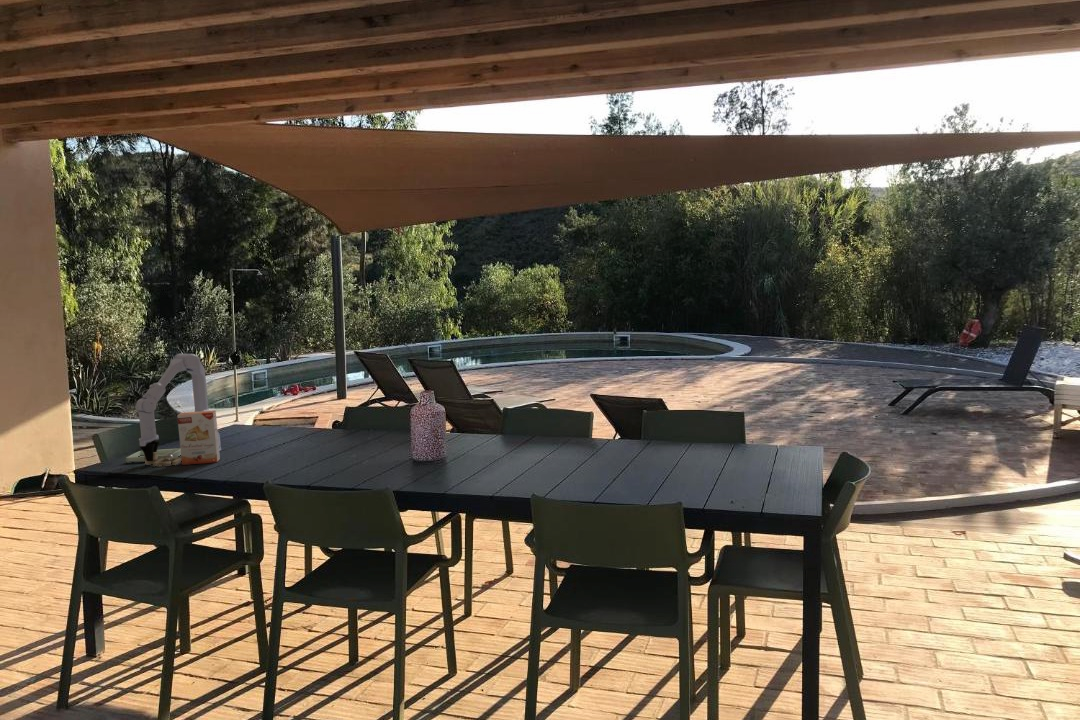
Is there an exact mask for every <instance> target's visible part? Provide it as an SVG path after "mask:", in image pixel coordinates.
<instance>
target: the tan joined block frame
mask: <svg viewBox="0 0 1080 720" xmlns="http://www.w3.org/2000/svg"><path fill="white" fill-rule="evenodd" d="M144 460H145V463H144V465H145V464H153V465H152V467H153V466H157V465H159V466H157V467H163V466H162V465H170V466H172V465H175V466H177V465H178V463H179V464H180V463H182V462H181V461H182V459H181V456H180V457H177V458H173V461H172V464H171V461H169V462H168V460H167V458H166V459H165V458H161V459H159V460H158V454H157V452H153V461H147V460H146V457H145V454H144ZM165 460H166V461H165ZM164 461H165V462H164ZM176 464H177V465H176Z"/></svg>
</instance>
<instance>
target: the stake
mask: <svg viewBox="0 0 1080 720" xmlns="http://www.w3.org/2000/svg"><path fill="white" fill-rule="evenodd" d="M172 454H173V451H171V452H168V453H166V456H167V460H168V462H169V461H171V463H172V461H173V457H172Z"/></svg>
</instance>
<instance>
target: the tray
mask: <svg viewBox="0 0 1080 720" xmlns="http://www.w3.org/2000/svg"><path fill="white" fill-rule="evenodd" d="M171 451H173V454H172V457H173V458H177V457H178V456H180V455H181V449H180V447H179V448H168V449H167V448H164V449H157V454H158V460H159V459H161V458H165V459H166V458H167V456H166V453H168V452H171ZM140 455H144V452H143V451H142V450H139V451H137V452H134V453H131V455H128V456H126V457H125V458H124V459H125V463H126V462H129V461H145V460H144V456H140ZM138 456H140V457H138ZM180 457H181V456H180ZM178 458H179V457H178ZM165 462H166V460H165Z"/></svg>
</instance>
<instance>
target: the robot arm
mask: <svg viewBox="0 0 1080 720" xmlns="http://www.w3.org/2000/svg"><path fill="white" fill-rule="evenodd" d="M205 369H206V368H205V367H204V365H203V364H202V362H201V358H200V357H199V356H198V355H197V354H194V353H182V352H181V353H177V354H176V355H174V357H173V358H172V359H171V360H170V363H169V365H168V367H167V368H166V370H165V371H164V372H163V374H162V376H161V377H160V379H159V380H158V382H153V383H152V384H150V385H149V389H147V391H146V392H145V393H144V394H143V395H142V397H141V398H139V399H138V400H137V401H136V403H135V405H134V408H135V410H136V411H137V412H138V419H139V427H140V436H141V437H139V439H138V441H139V448H140V450H141V451H143V452H144V454H145V457H146V460H147V461H153V452H157V450H158V448H159V445H160V440H159V439H160V438H159V434H157V428H156V419H155V410H156V409H157V405H158V404H157V403H158V402H159V400H161V398H162V397H163V396H164V395H165V393H166V387H167V385H168V384H169V383H170V382H172V380H173V379H174V378H175V376H177V374H178V373H180V372H184V371H186V372H187V373H188V374H190V375H191V380H192V381H191V382H192V391H193V392H192V393H193V403H194V404H193V405H194V412H201V411H210V410H209V401H208V389H207V388H208V387H207V379H206V370H205ZM218 441H219V452H221V451H222V446H221V445H222V444H221V435H220V432H219V431H218Z"/></svg>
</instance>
